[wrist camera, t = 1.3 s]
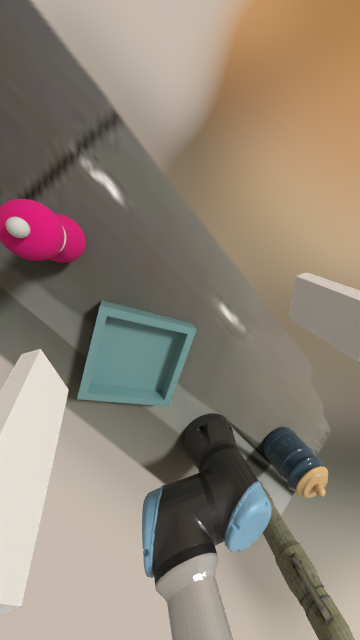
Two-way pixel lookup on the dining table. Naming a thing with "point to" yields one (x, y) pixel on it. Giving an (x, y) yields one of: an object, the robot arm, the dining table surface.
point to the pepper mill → (39, 232)
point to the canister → (296, 463)
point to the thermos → (304, 580)
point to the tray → (135, 356)
